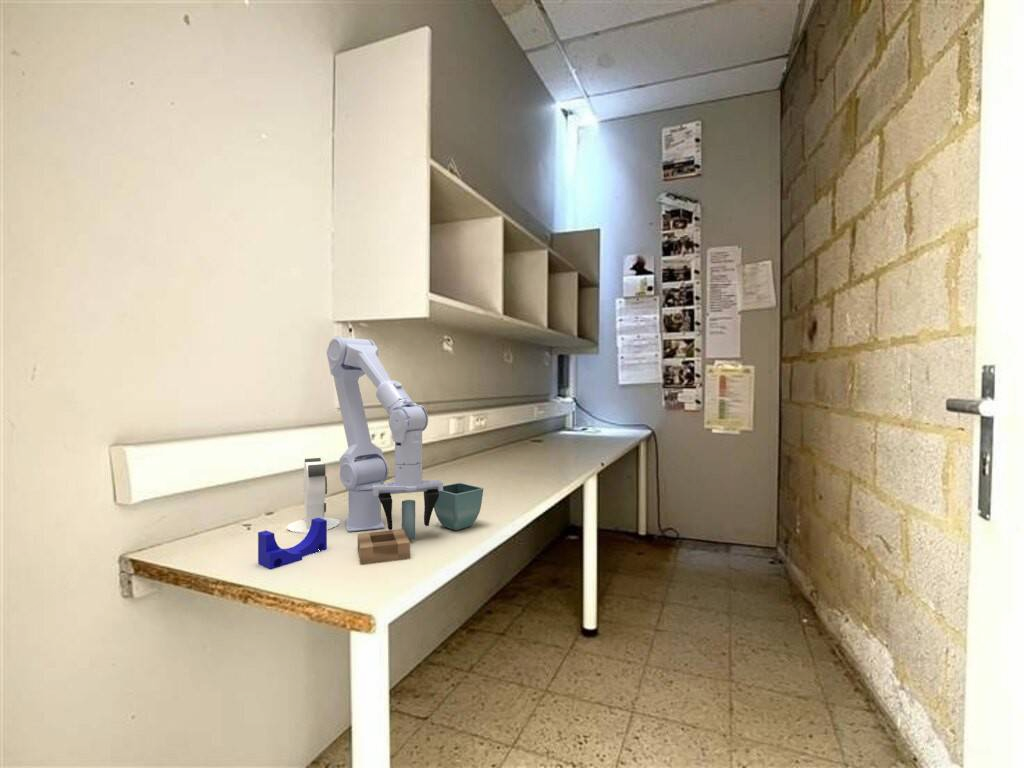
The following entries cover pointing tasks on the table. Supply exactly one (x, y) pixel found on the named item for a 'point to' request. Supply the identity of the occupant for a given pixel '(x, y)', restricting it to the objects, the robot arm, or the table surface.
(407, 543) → the open cardboard frame
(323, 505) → the white tower device
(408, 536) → the blue-gray dowel
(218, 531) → the table surface
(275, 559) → the blue cradle bracket
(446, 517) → the flower pot
